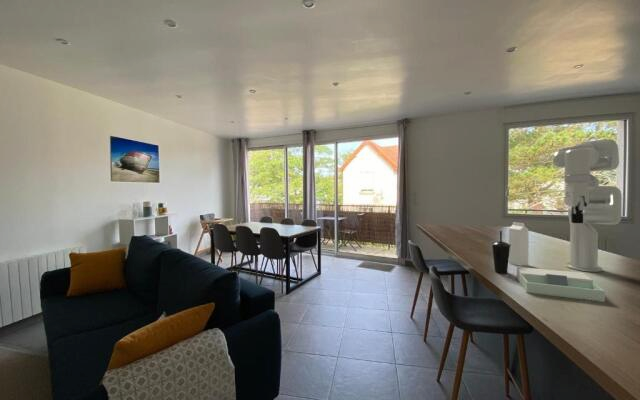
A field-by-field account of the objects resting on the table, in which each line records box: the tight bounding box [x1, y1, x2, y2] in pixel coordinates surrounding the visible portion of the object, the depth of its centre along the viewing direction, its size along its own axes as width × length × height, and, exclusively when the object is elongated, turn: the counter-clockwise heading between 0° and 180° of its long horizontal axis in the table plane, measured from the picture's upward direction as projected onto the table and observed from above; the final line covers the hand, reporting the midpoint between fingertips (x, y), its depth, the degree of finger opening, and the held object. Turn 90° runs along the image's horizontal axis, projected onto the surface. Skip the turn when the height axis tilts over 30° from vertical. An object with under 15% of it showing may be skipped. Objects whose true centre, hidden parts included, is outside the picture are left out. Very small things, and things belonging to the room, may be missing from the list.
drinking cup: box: [491, 230, 511, 274], centre depth 126 cm, size 8×8×20 cm
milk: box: [508, 221, 530, 267], centre depth 138 cm, size 6×6×22 cm
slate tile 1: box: [545, 274, 568, 286], centre depth 103 cm, size 4×6×2 cm
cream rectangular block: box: [516, 266, 594, 283], centre depth 109 cm, size 9×22×5 cm, turn 63°
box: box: [520, 276, 606, 303], centre depth 101 cm, size 9×22×4 cm, turn 63°
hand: (577, 222), depth 110 cm, fingers closed
